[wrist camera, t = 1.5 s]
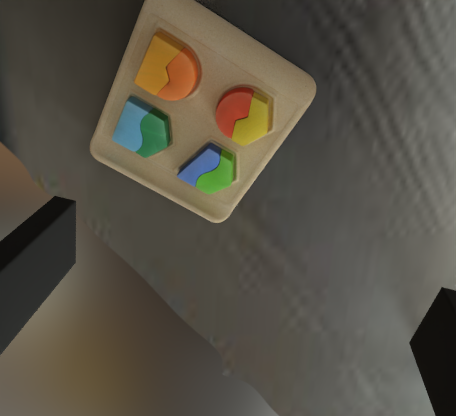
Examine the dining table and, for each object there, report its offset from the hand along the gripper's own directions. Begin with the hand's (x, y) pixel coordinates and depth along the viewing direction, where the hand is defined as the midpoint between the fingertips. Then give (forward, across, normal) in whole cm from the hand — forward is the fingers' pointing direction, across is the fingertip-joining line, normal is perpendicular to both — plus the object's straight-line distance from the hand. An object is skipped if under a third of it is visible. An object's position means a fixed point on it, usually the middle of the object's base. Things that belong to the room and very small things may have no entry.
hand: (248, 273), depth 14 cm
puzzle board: (+29, -7, -3) cm, 30 cm away
